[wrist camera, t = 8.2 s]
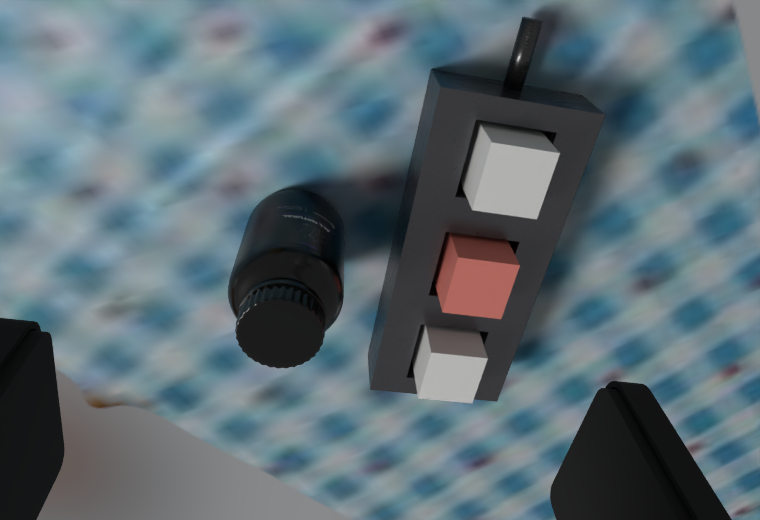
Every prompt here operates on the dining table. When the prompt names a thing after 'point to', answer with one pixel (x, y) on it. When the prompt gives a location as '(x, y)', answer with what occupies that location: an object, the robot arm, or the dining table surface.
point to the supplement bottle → (288, 278)
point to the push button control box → (475, 213)
